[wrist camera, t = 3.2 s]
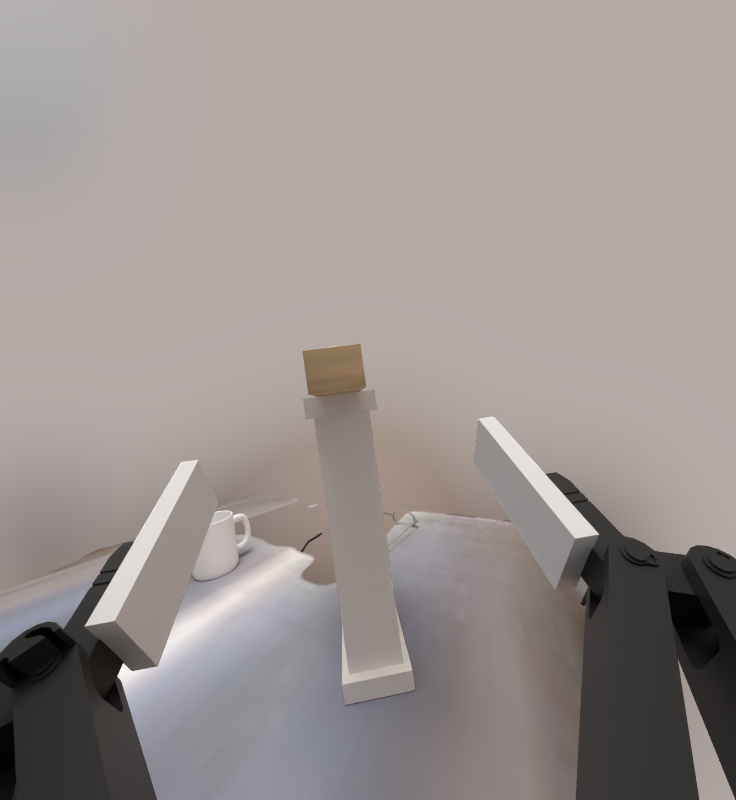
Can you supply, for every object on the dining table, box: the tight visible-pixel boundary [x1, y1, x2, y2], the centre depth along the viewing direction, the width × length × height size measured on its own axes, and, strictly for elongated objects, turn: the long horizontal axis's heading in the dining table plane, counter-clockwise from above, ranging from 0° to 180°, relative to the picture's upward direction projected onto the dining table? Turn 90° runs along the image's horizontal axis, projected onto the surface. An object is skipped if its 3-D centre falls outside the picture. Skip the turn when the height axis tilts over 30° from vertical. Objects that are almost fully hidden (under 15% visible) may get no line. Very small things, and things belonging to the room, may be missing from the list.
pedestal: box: [303, 390, 415, 705], centre depth 38 cm, size 15×7×30 cm, turn 5°
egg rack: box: [303, 344, 366, 397], centre depth 34 cm, size 24×4×6 cm, turn 5°
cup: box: [192, 511, 250, 581], centre depth 63 cm, size 8×12×10 cm
